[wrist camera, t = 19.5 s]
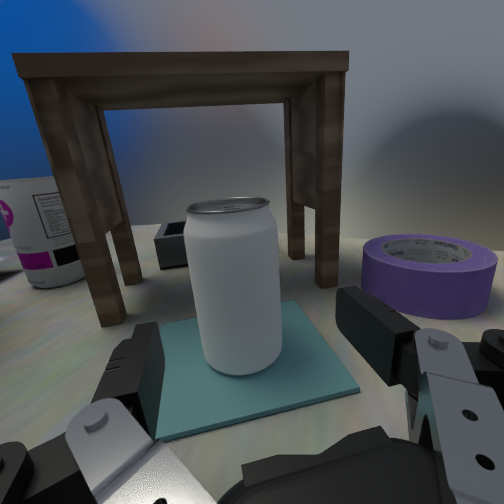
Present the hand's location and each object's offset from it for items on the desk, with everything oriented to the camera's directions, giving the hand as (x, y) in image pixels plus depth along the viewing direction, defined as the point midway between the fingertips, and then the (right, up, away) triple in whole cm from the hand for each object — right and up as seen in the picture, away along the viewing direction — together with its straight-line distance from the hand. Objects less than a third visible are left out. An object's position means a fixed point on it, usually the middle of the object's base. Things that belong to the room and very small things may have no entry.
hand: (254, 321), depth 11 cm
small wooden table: (-4, -1, +23) cm, 24 cm away
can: (-1, -5, +10) cm, 11 cm away
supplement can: (-29, -1, +29) cm, 41 cm away
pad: (-1, -5, +10) cm, 12 cm away
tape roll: (+18, -1, +18) cm, 26 cm away
